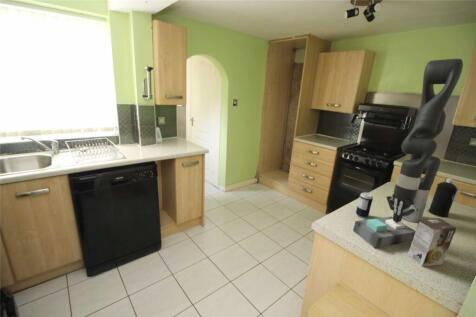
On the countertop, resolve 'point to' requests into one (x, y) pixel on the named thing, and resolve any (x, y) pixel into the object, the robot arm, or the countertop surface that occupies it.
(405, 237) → the key console
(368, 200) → the beverage can
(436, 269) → the countertop surface
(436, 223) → the coffee box
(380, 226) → the teal key
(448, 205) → the aerosol can
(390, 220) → the cream key
